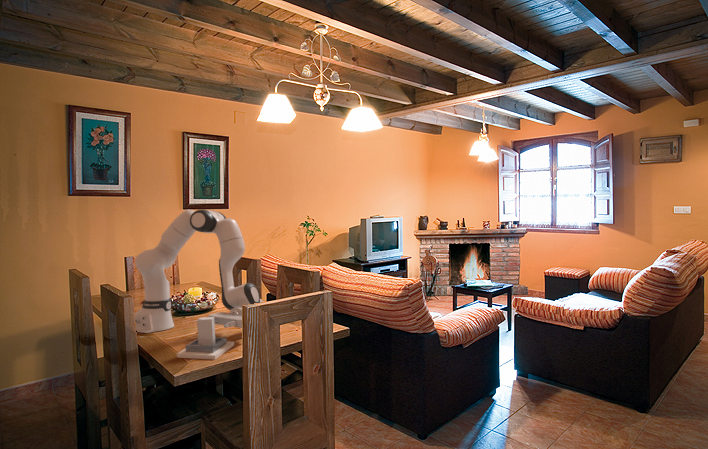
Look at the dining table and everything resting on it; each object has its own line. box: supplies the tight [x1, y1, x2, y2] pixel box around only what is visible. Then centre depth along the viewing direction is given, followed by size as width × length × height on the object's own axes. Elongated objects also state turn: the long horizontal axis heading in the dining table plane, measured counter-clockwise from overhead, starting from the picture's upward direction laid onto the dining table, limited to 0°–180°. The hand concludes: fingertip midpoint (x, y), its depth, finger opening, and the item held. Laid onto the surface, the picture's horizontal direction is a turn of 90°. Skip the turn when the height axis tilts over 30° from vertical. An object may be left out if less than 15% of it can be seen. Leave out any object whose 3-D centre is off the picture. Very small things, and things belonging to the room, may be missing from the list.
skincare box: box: [196, 316, 216, 346], centre depth 173 cm, size 6×4×12 cm
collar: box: [185, 336, 227, 353], centre depth 173 cm, size 12×12×2 cm
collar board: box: [176, 340, 235, 360], centre depth 173 cm, size 16×17×2 cm
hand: (216, 324), depth 178 cm, fingers open, 8 cm apart
